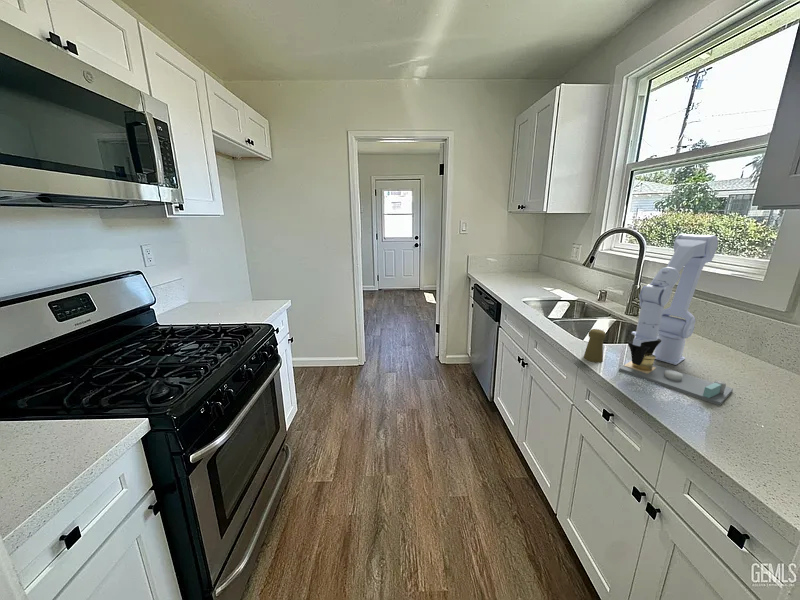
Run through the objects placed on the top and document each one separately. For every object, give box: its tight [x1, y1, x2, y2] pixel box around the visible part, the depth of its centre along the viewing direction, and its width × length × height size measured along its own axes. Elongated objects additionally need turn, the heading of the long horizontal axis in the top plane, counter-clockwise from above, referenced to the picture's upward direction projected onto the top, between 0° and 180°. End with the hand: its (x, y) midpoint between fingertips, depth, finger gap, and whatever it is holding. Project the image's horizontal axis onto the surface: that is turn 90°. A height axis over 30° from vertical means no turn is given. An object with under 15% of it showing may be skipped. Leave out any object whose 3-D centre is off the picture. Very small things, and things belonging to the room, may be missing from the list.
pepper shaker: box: [583, 328, 607, 364], centre depth 117 cm, size 6×6×11 cm
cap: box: [632, 352, 656, 371], centre depth 109 cm, size 6×6×4 cm
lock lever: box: [703, 380, 727, 398], centre depth 93 cm, size 8×2×3 cm, turn 116°
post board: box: [618, 360, 734, 406], centre depth 103 cm, size 13×25×2 cm, turn 35°
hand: (640, 361), depth 110 cm, fingers open, 7 cm apart
